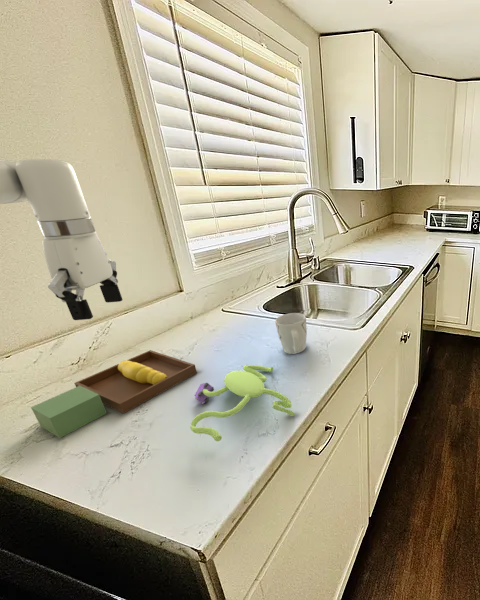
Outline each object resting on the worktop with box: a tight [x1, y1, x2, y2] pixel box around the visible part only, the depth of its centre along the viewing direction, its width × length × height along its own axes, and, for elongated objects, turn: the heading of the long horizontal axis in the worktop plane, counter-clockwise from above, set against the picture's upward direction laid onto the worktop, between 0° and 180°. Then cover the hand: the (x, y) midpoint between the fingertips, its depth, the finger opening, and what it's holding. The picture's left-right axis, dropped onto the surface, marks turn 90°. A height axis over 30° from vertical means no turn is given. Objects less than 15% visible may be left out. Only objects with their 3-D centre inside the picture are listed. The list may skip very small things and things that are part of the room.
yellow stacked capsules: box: [118, 359, 168, 385], centre depth 82 cm, size 17×4×4 cm, turn 65°
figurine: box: [189, 364, 295, 442], centre depth 73 cm, size 18×27×6 cm
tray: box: [74, 349, 198, 414], centre depth 82 cm, size 19×17×3 cm
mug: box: [274, 312, 308, 355], centre depth 94 cm, size 11×8×10 cm
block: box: [30, 386, 108, 439], centre depth 69 cm, size 8×8×5 cm
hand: (100, 309), depth 69 cm, fingers open, 9 cm apart
